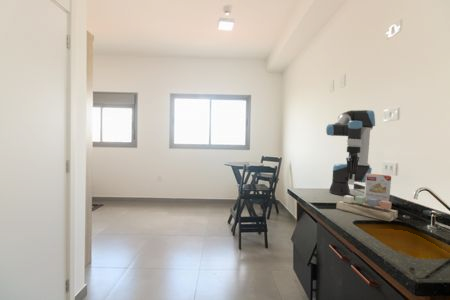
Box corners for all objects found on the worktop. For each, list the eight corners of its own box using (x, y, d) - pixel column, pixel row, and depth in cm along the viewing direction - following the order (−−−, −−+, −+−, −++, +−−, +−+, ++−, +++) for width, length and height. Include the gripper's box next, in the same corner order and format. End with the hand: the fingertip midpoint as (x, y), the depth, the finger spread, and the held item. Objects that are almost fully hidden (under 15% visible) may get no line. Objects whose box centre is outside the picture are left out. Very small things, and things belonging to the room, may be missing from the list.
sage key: (357, 205, 170) (358, 195, 170) (365, 206, 167) (365, 197, 166) (354, 206, 167) (355, 196, 167) (362, 207, 164) (362, 198, 164)
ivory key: (346, 204, 175) (346, 195, 175) (353, 206, 172) (353, 196, 172) (342, 205, 172) (343, 196, 172) (350, 207, 169) (350, 197, 169)
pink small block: (382, 210, 160) (383, 200, 159) (390, 212, 157) (391, 202, 156) (379, 211, 157) (380, 201, 156) (388, 213, 154) (388, 203, 153)
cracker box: (364, 206, 181) (366, 174, 179) (363, 203, 186) (365, 173, 185) (388, 209, 176) (391, 176, 174) (387, 206, 181) (389, 175, 180)
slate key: (369, 207, 165) (370, 197, 165) (377, 209, 162) (378, 199, 161) (366, 209, 162) (367, 198, 162) (374, 210, 159) (375, 200, 158)
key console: (345, 205, 180) (345, 199, 180) (397, 217, 158) (397, 210, 157) (336, 208, 172) (336, 202, 172) (389, 221, 150) (390, 214, 149)
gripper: (352, 145, 176) (349, 182, 178) (342, 145, 167) (340, 184, 169) (364, 146, 170) (361, 184, 172) (355, 146, 162) (352, 186, 163)
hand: (351, 184), depth 170 cm, fingers closed
